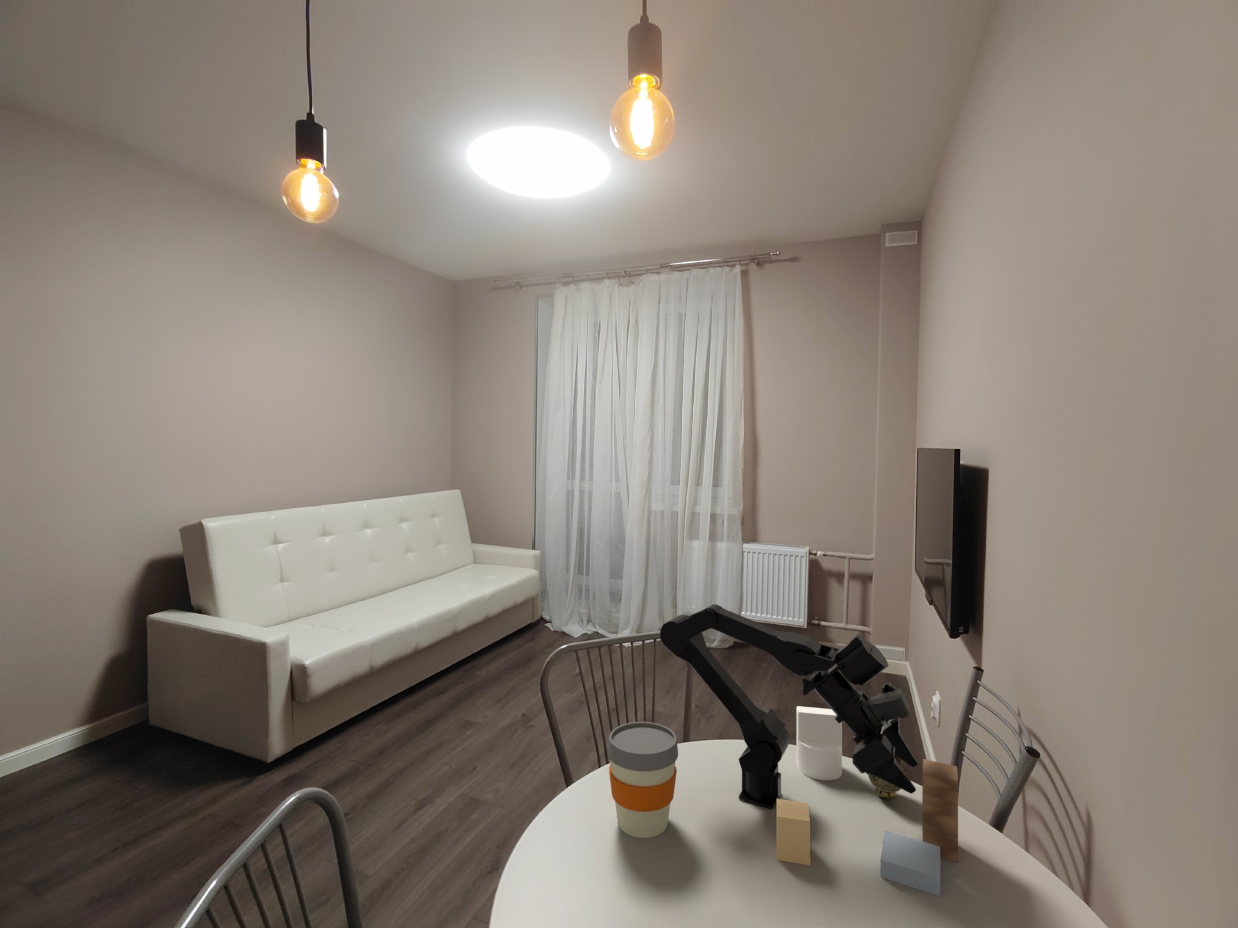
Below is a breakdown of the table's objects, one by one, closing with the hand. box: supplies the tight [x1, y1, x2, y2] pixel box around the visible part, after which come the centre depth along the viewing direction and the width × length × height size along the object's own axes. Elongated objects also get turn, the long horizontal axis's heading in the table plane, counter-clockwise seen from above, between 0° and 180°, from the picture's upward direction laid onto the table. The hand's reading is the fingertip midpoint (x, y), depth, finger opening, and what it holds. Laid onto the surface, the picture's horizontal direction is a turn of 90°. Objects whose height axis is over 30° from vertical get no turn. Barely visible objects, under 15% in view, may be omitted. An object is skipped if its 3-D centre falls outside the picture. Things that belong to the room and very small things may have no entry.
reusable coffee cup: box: [607, 721, 679, 839], centre depth 101 cm, size 12×13×15 cm
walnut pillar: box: [921, 758, 959, 863], centre depth 94 cm, size 5×5×13 cm
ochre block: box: [776, 798, 811, 866], centre depth 93 cm, size 5×5×7 cm
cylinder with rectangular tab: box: [796, 705, 843, 781], centre depth 118 cm, size 9×9×12 cm
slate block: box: [879, 830, 941, 897], centre depth 89 cm, size 8×8×3 cm
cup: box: [867, 756, 908, 801], centre depth 109 cm, size 8×7×8 cm
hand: (914, 778), depth 96 cm, fingers open, 9 cm apart
